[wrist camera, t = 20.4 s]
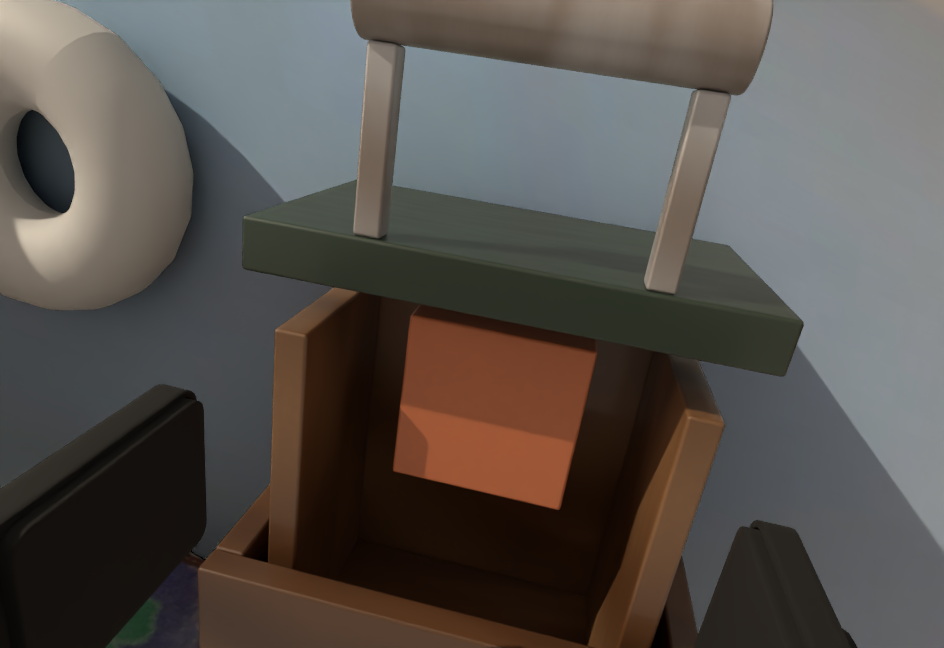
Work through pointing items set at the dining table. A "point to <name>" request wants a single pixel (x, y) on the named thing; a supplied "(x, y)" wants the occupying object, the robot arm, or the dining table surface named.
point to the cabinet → (357, 607)
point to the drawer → (526, 303)
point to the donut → (87, 162)
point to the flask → (167, 613)
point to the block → (492, 405)
